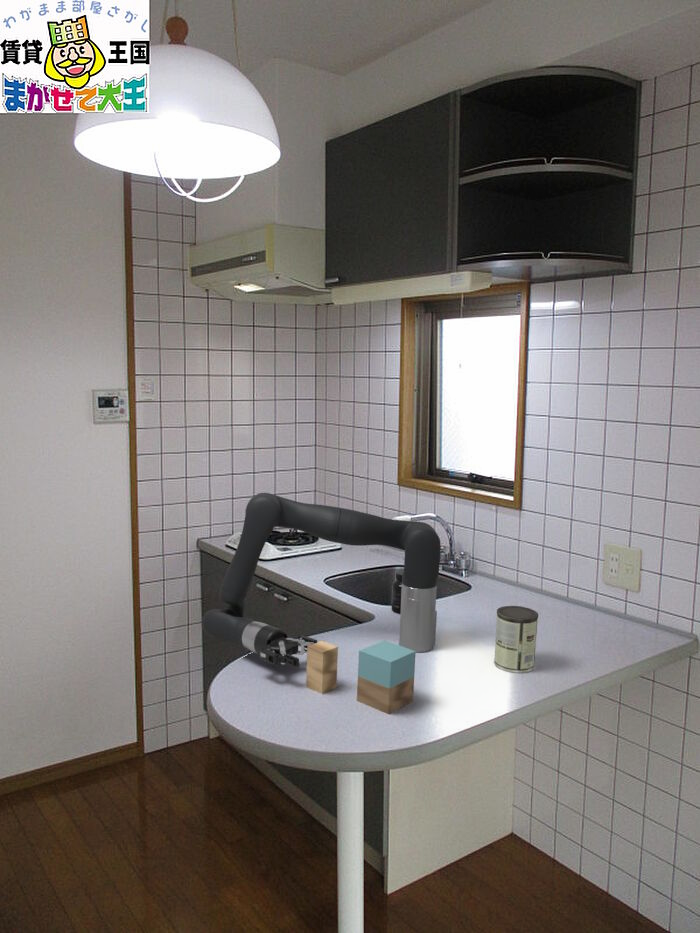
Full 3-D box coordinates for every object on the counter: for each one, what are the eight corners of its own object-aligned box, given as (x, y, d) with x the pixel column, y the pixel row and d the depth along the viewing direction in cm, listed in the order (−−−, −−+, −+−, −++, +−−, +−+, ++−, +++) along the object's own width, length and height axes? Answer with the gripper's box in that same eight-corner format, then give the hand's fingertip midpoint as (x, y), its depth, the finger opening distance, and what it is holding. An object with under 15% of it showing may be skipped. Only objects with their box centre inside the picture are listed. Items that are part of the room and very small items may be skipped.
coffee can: (501, 654, 206) (504, 602, 204) (539, 663, 201) (543, 610, 199) (487, 666, 197) (490, 613, 195) (527, 676, 192) (531, 621, 190)
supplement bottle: (399, 605, 242) (401, 568, 240) (417, 611, 237) (419, 573, 236) (386, 611, 236) (388, 572, 235) (404, 616, 232) (406, 577, 230)
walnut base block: (381, 689, 182) (383, 665, 181) (412, 701, 176) (414, 676, 175) (356, 701, 175) (357, 676, 174) (388, 714, 169) (389, 688, 168)
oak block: (320, 681, 185) (322, 640, 183) (336, 687, 182) (337, 646, 180) (306, 687, 181) (307, 646, 180) (321, 694, 178) (323, 652, 176)
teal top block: (383, 665, 181) (384, 640, 180) (414, 676, 175) (415, 651, 174) (357, 676, 174) (358, 650, 173) (389, 688, 168) (390, 662, 168)
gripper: (242, 632, 188) (289, 651, 177) (285, 618, 198) (332, 635, 188) (242, 662, 189) (288, 682, 178) (284, 646, 199) (331, 665, 189)
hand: (311, 658), depth 183 cm, fingers open, 8 cm apart
